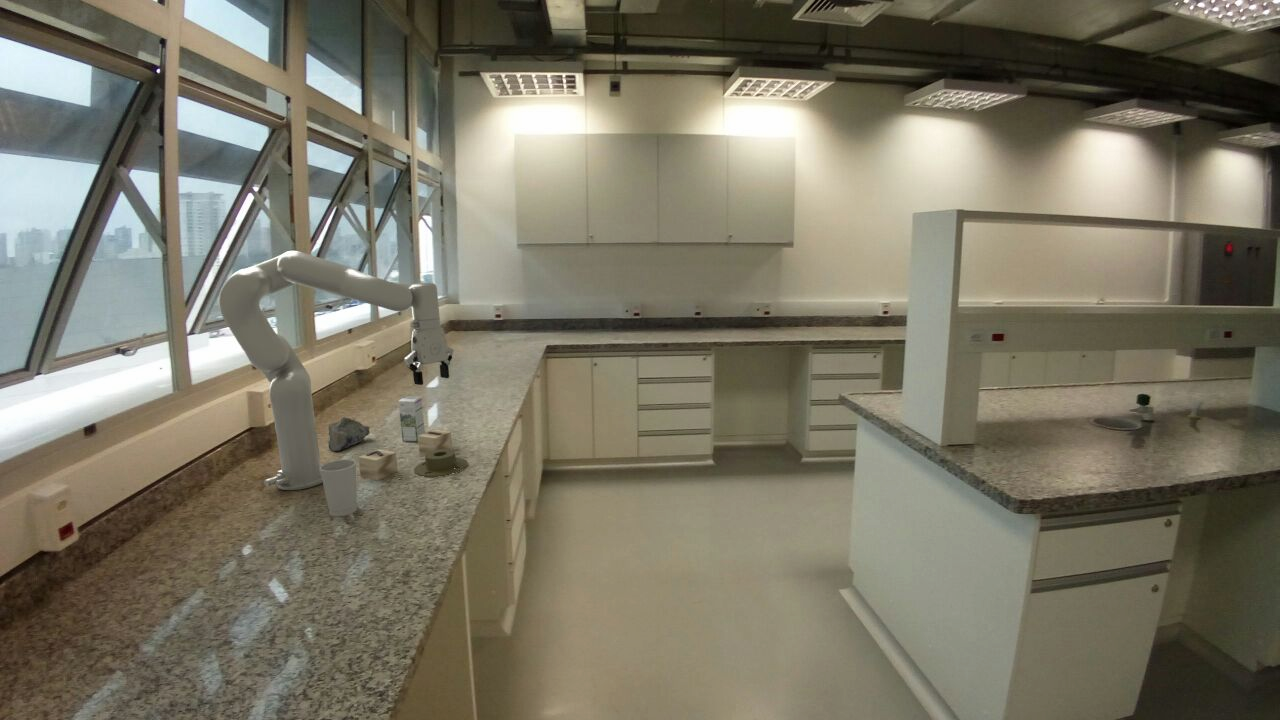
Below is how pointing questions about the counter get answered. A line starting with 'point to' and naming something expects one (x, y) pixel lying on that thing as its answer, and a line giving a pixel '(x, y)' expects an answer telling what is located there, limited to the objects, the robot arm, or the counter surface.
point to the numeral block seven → (378, 464)
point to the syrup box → (411, 418)
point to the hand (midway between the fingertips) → (432, 381)
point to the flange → (440, 463)
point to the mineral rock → (346, 433)
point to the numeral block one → (434, 441)
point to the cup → (340, 486)
